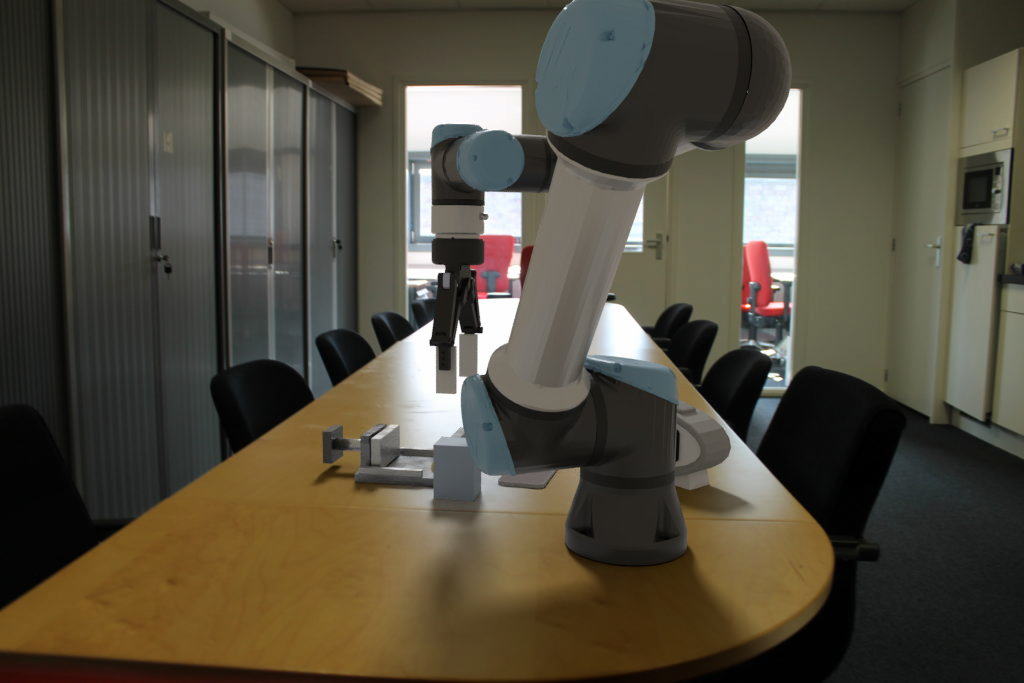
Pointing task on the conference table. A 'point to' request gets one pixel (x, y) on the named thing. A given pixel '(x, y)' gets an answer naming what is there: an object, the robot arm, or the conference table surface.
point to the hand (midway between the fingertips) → (457, 384)
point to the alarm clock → (697, 446)
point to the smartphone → (527, 479)
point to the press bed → (397, 463)
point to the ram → (382, 445)
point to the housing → (454, 470)
